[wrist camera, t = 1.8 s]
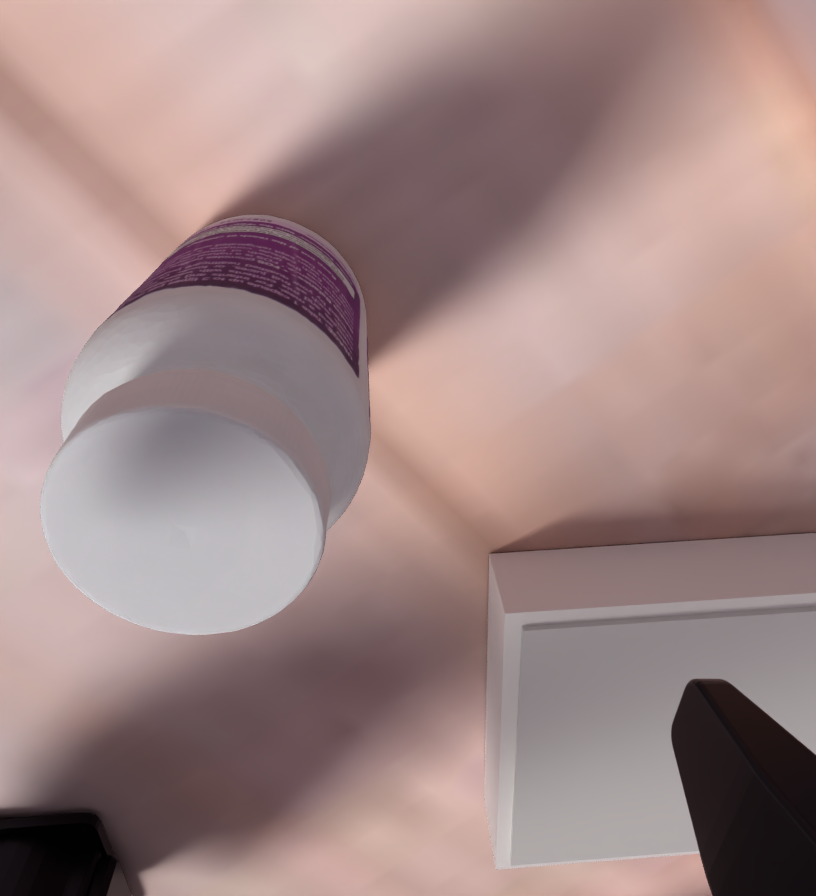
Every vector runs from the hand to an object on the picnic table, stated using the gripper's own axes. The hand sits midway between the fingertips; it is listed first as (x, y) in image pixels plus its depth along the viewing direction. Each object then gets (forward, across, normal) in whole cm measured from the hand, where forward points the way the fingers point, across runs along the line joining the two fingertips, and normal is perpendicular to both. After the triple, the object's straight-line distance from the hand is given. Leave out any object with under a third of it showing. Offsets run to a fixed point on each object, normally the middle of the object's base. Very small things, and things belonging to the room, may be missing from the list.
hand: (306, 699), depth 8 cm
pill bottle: (+12, +2, 0) cm, 12 cm away
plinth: (+12, -11, +12) cm, 21 cm away
